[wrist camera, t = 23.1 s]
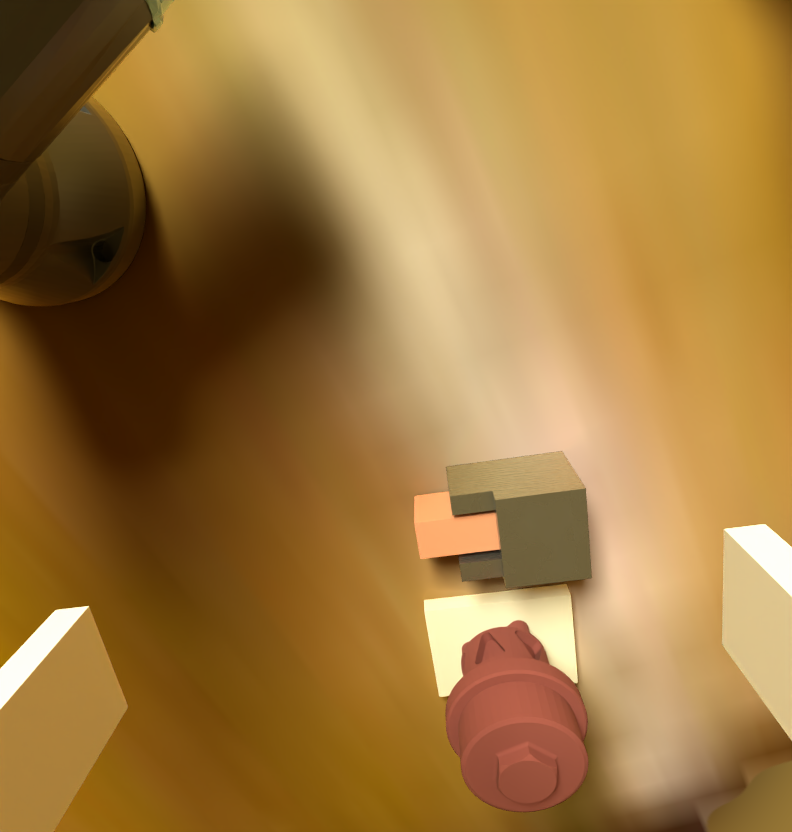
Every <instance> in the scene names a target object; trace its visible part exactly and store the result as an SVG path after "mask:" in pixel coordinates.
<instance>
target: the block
mask: <svg viewBox="0 0 792 832" xmlns="http://www.w3.org/2000/svg"><path fill="white" fill-rule="evenodd" d="M424 612H425V618H426V623H427V629H428V635H429V641H430V646H431V652H432V658H433V663H434V669H435V675H436V681H437V686H438V692H439V697H444V696H449V695H450V693H451V691H452V689H453V688H454V686H455V685H456V683H457V682H458V681H459V680H460V679H461V678H462V677H463V674H462V669H461V657H462V646H463V645H464V644H465V643H466V642H469V641H470V640H471V639H472V638H474V637H475V636H476V635H478V634H479V633H481V632H483V631H485V630H488V629H491V628H496V627H507V626H508V625H509V624H510V623H512V622H513V621H516V620H522V621H524V622H526V623H527V625H528V628H529V631H530V633H531V634H532V635H534V636H535V637H536V638H537V639H538V640H539V641H540V642H541V644H542V645H543V647H544V649H545V651H546V654H547V657H548V661H549V664H550V665H552V666H554V667H556V668H557V669H559V670H561V671H562V672H563V673H565V674H566V675H567V676H568V677H569V678H570V679H571V680H572V681H573V682H574V683H578V677H577V665H576V652H575V640H574V628H573V615H572V603H571V594H570V591H569V589H568V587H567V584H560V585H551V586H543V587H534V588H525V589H517V590H508V591H500V592H491V593H482V594H474V595H465V596H457V597H448V598H439V599H431V600H424Z"/></svg>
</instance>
